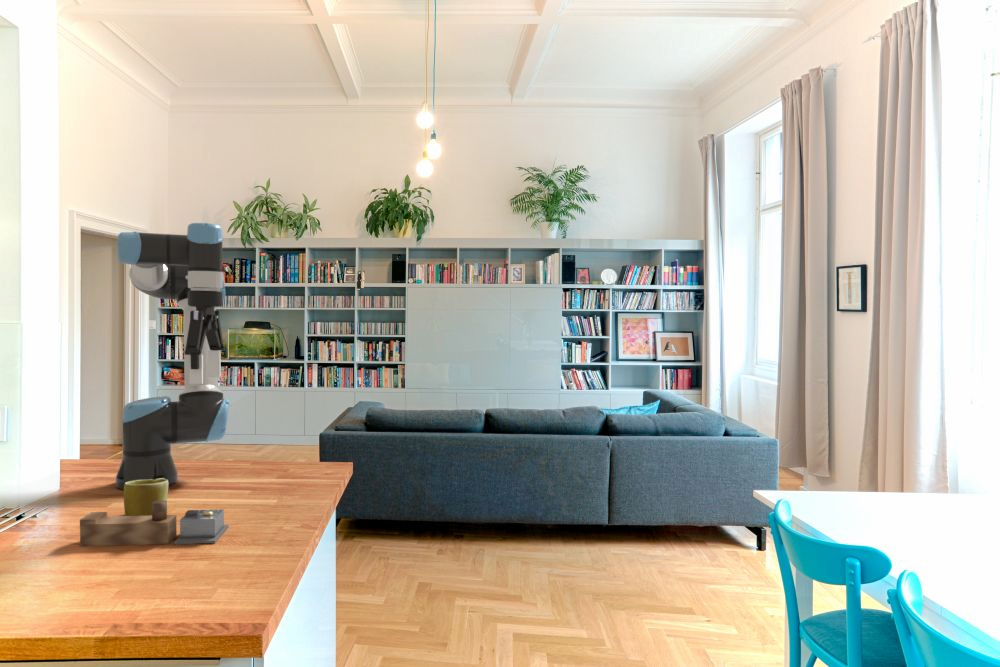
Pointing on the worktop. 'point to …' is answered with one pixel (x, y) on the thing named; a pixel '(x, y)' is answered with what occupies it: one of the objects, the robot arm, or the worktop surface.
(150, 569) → the worktop surface
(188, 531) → the lever cap
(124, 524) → the plane body
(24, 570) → the worktop surface
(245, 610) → the worktop surface
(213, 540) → the mat
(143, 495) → the mug
